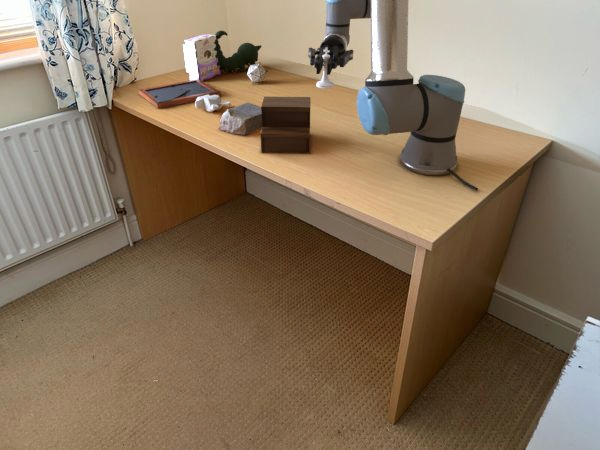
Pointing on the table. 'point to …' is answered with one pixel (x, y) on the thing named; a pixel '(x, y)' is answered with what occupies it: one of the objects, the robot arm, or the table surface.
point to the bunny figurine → (210, 103)
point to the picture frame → (177, 93)
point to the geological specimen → (242, 119)
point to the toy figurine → (236, 55)
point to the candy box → (202, 57)
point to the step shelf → (285, 125)
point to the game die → (256, 73)
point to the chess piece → (325, 73)
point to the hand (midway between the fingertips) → (323, 69)
